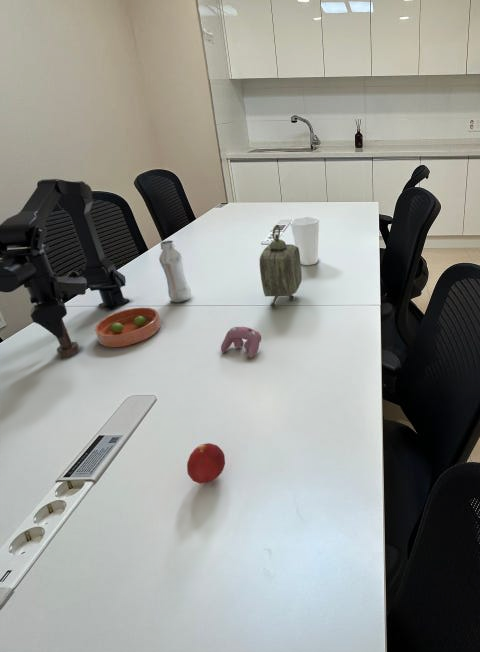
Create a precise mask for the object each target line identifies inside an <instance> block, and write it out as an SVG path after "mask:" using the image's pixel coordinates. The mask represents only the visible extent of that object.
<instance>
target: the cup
mask: <svg viewBox="0 0 480 652" xmlns="http://www.w3.org/2000/svg"><path fill="white" fill-rule="evenodd" d="M289 224H290V229H291V233H292V237H293V242H294V245H295V246H296V247H298V248H299V253H300V262H301V265H303V266H311V265H316V264H317V263H318V260H319V231H320V229H319V228H320V227H319V226H320V219H319V218H318V217H313V216H302V217H297V218H293V219H292V220H291V221H290V222H289Z"/></svg>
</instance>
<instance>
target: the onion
mask: <svg viewBox="0 0 480 652" xmlns="http://www.w3.org/2000/svg"><path fill="white" fill-rule="evenodd" d="M225 465H226V457H225V453H224V451H223V450H222V449H221V447H219V445H217V444H214V443H210V442H209V443H208V442H207V443H202V444H199V445H198V446H197V447H195V448H194V449H193V450H192V452H191V453H190V455H189V457H188V460H187V463H186V471H187V475H188V477H189V478H190V479H191V481H193V482H195V483H197V484H207V483H210V482H213V481H215V480H216V479H218V478H219V476H220V475H221V474H222V473H223V471H224V468H225Z"/></svg>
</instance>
